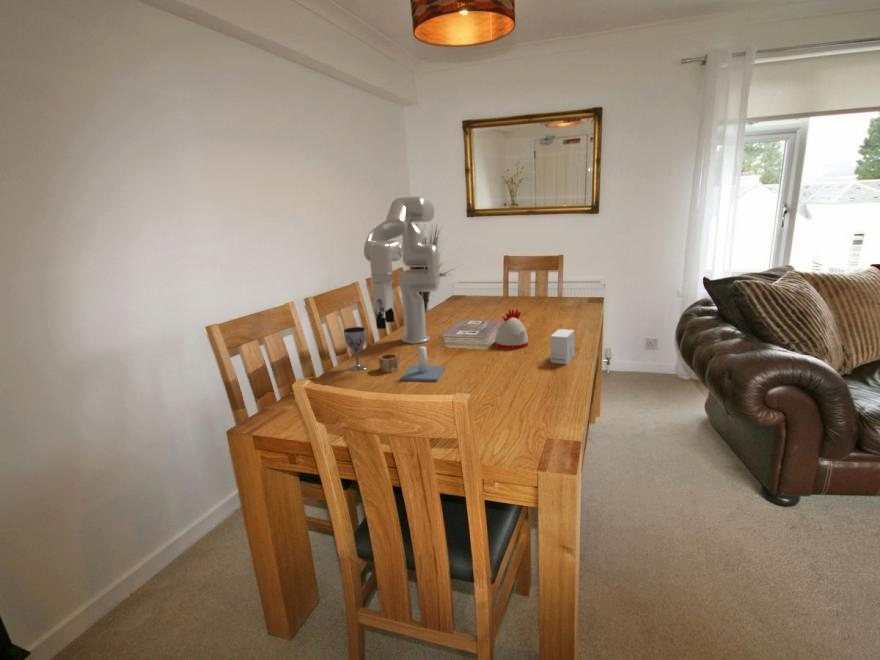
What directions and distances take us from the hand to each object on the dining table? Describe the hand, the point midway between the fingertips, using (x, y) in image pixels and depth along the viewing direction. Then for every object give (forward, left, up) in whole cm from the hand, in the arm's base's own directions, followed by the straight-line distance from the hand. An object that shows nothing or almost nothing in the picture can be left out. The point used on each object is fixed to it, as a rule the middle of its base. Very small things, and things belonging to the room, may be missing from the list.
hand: (385, 325), depth 168 cm
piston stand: (+4, +14, -17) cm, 22 cm away
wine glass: (-1, -13, -17) cm, 22 cm away
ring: (0, 0, -17) cm, 17 cm away
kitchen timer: (-34, +43, -17) cm, 58 cm away
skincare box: (-16, +63, -17) cm, 67 cm away
